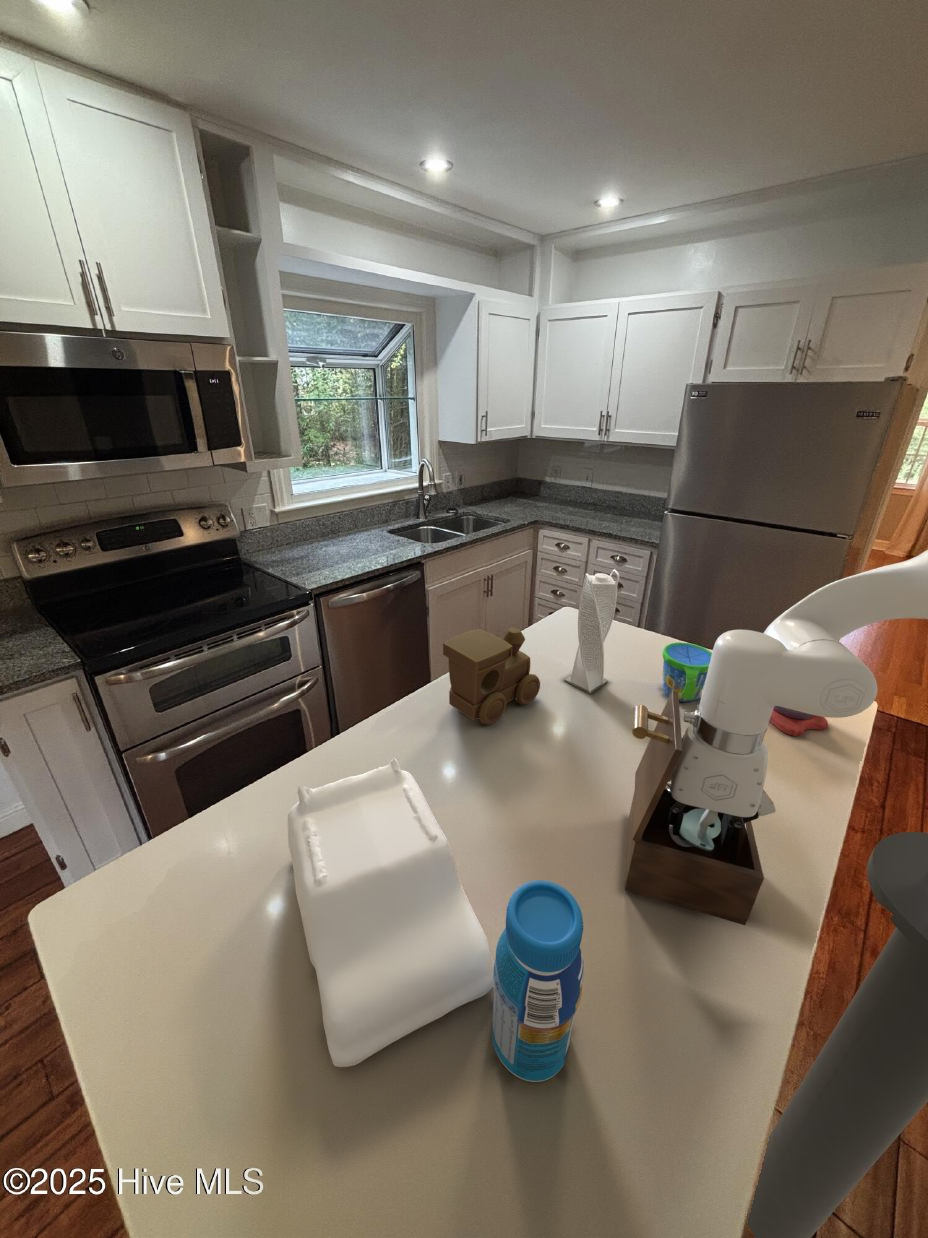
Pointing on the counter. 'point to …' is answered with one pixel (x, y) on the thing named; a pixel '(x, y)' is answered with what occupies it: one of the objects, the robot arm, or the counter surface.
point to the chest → (694, 868)
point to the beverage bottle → (537, 980)
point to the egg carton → (382, 911)
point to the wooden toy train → (489, 673)
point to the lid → (655, 758)
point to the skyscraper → (593, 630)
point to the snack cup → (685, 669)
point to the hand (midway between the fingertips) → (699, 833)
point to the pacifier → (698, 829)
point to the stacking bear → (796, 721)
